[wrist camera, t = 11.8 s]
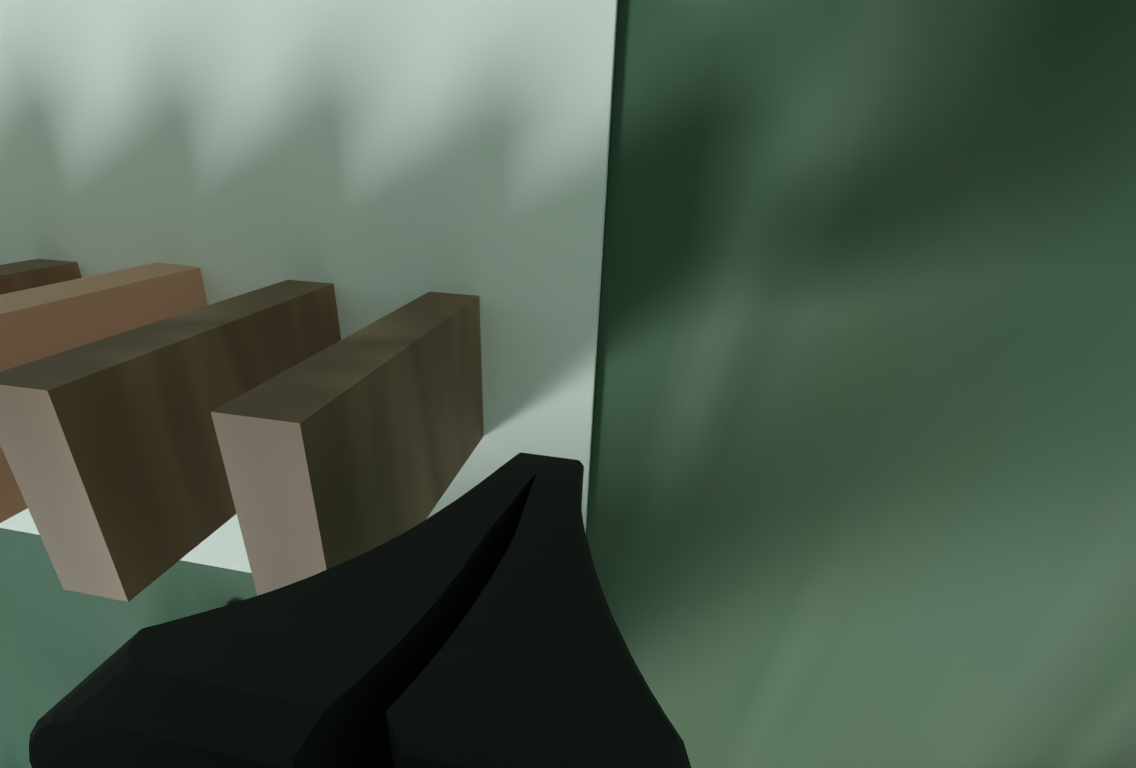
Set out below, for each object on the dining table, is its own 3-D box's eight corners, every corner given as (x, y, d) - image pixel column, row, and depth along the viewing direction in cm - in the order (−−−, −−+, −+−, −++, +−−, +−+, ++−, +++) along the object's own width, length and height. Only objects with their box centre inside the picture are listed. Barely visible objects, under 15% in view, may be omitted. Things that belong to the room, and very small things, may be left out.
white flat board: (619, -34, 13) (618, -38, 12) (580, 625, 21) (578, 631, 21) (-263, -20, 17) (-278, -23, 17) (-6, 521, 25) (-13, 525, 25)
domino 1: (199, 267, 18) (-171, 354, 10) (227, 399, 20) (-65, 558, 12) (157, 262, 18) (-237, 343, 10) (189, 393, 20) (-123, 545, 12)
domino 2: (333, 283, 17) (47, 390, 9) (352, 419, 19) (127, 601, 11) (287, 279, 17) (-29, 380, 10) (311, 414, 19) (63, 589, 11)
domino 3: (479, 295, 16) (299, 423, 8) (483, 436, 18) (339, 643, 10) (429, 291, 16) (210, 411, 9) (438, 430, 18) (266, 628, 11)
